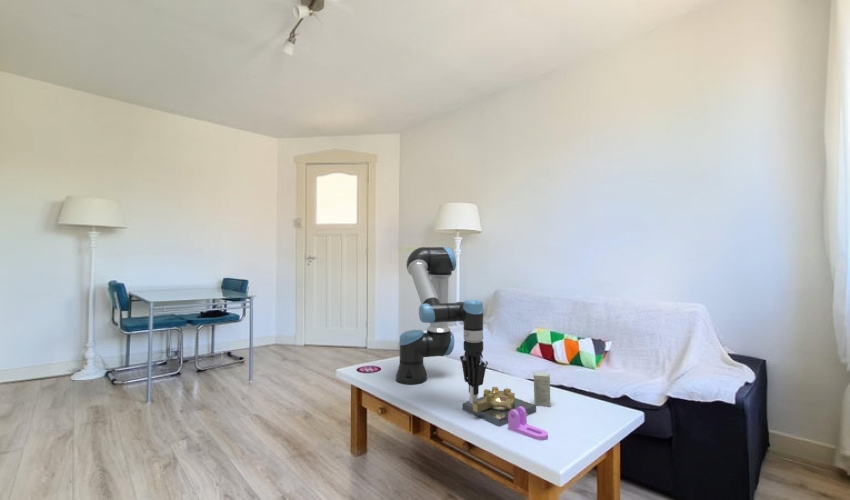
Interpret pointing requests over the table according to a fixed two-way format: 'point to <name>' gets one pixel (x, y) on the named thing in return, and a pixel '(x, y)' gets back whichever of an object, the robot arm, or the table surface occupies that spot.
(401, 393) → the table surface
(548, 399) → the skincare box
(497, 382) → the table surface
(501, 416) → the base plate
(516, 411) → the bracket
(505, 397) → the brass notched disc handle
